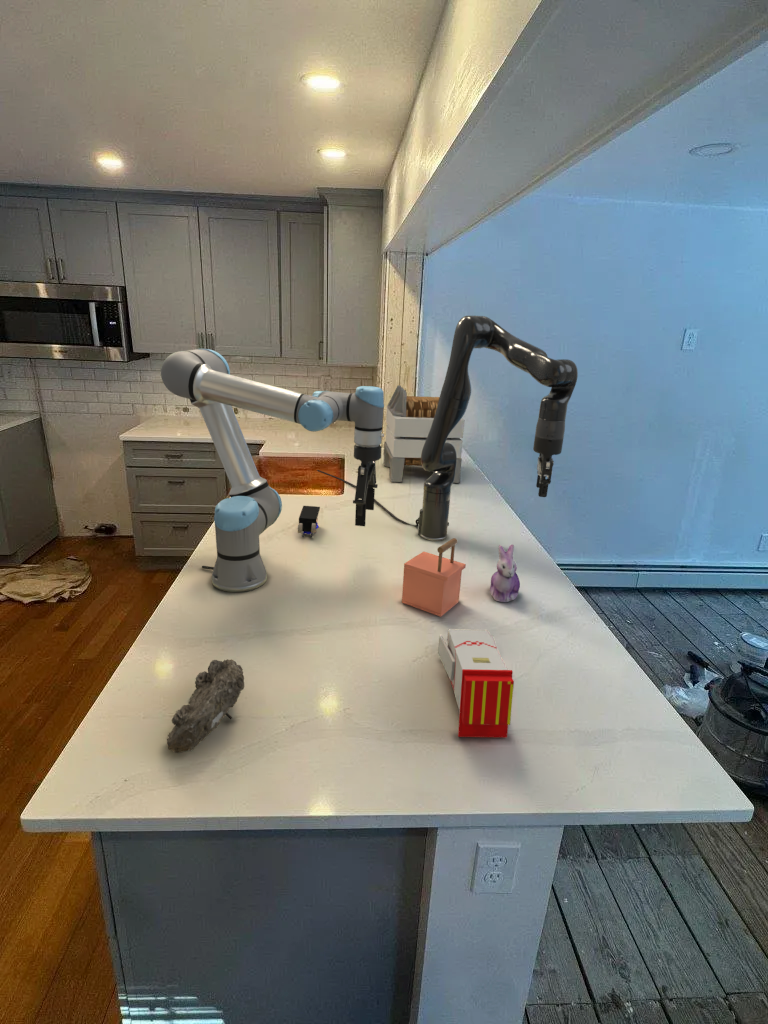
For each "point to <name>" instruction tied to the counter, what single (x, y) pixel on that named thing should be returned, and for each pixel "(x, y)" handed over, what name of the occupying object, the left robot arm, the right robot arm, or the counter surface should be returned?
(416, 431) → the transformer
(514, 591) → the figurine
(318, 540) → the counter surface
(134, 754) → the counter surface
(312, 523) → the figurine character
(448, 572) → the lid
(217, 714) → the fossil
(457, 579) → the chest
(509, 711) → the toy
